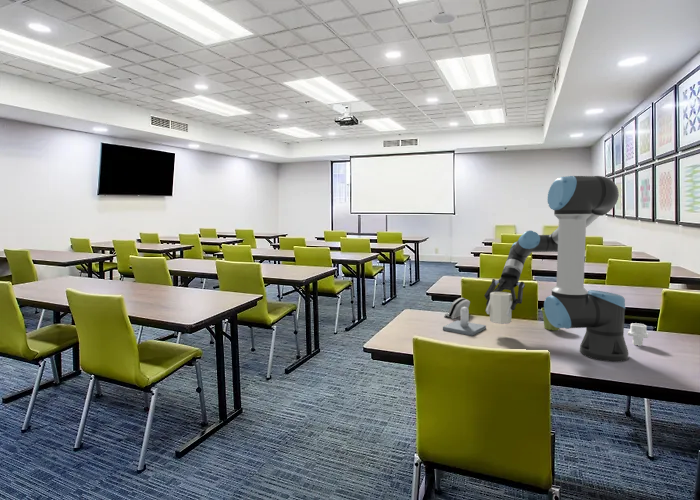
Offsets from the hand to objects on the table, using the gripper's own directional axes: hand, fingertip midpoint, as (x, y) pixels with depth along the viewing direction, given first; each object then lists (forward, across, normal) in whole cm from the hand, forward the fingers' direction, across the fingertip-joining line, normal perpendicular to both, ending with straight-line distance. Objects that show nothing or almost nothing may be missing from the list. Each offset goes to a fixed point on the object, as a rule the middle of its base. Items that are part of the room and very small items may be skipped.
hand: (497, 313), depth 173 cm
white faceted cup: (0, 0, -5) cm, 5 cm away
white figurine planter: (-10, -46, -24) cm, 53 cm away
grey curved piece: (-10, +30, -24) cm, 39 cm away
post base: (+5, +16, -8) cm, 19 cm away
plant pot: (-12, -14, -26) cm, 32 cm away
